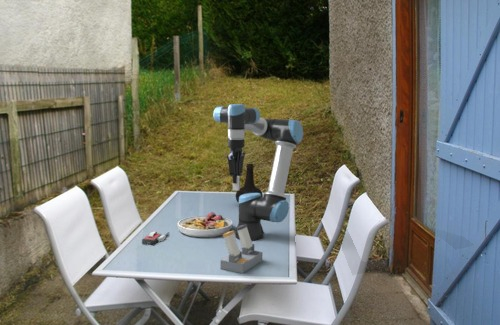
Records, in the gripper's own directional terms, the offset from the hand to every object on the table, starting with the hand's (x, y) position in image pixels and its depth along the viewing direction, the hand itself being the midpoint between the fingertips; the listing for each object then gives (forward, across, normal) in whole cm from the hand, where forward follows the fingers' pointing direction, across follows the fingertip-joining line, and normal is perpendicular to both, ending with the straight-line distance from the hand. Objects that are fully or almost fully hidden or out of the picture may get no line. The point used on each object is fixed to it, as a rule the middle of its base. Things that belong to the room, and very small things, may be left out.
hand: (235, 189), depth 242 cm
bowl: (+33, -32, -37) cm, 59 cm away
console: (+32, +6, +7) cm, 34 cm away
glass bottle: (+33, -97, -44) cm, 112 cm away
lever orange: (+27, +12, +7) cm, 30 cm away
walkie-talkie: (+33, -5, -50) cm, 60 cm away
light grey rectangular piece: (+27, 0, +7) cm, 28 cm away
